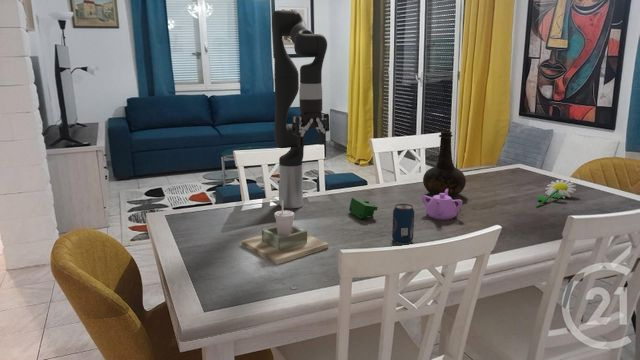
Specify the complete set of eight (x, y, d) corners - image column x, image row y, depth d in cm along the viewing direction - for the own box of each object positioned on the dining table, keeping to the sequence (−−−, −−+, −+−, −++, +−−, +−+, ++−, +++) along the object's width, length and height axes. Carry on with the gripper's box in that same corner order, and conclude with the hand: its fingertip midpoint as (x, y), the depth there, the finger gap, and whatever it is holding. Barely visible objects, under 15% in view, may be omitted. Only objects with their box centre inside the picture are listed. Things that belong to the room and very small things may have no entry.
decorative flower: (552, 216, 200) (580, 192, 219) (552, 205, 198) (581, 181, 217) (521, 211, 209) (550, 188, 228) (520, 200, 207) (550, 177, 226)
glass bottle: (469, 193, 223) (474, 130, 216) (456, 203, 209) (461, 136, 202) (430, 187, 233) (434, 126, 226) (416, 196, 218) (419, 132, 211)
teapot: (446, 209, 201) (447, 187, 199) (464, 220, 188) (466, 197, 186) (418, 211, 198) (420, 190, 196) (436, 223, 185) (437, 200, 183)
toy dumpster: (370, 228, 192) (380, 210, 188) (357, 227, 190) (367, 208, 185) (360, 208, 201) (369, 190, 197) (347, 206, 199) (356, 188, 194)
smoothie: (274, 238, 166) (274, 197, 163) (294, 238, 166) (294, 197, 163) (274, 245, 160) (274, 203, 156) (294, 245, 160) (294, 203, 157)
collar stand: (241, 245, 165) (240, 229, 163) (291, 231, 177) (290, 216, 176) (277, 264, 150) (276, 247, 148) (328, 247, 162) (328, 231, 161)
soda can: (390, 236, 172) (392, 203, 169) (411, 237, 171) (413, 203, 168) (393, 244, 165) (394, 209, 162) (414, 244, 165) (416, 209, 162)
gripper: (320, 95, 173) (320, 142, 177) (286, 97, 164) (287, 147, 169) (334, 96, 168) (334, 145, 172) (300, 99, 159) (301, 150, 163)
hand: (311, 146), depth 170 cm, fingers open, 8 cm apart
